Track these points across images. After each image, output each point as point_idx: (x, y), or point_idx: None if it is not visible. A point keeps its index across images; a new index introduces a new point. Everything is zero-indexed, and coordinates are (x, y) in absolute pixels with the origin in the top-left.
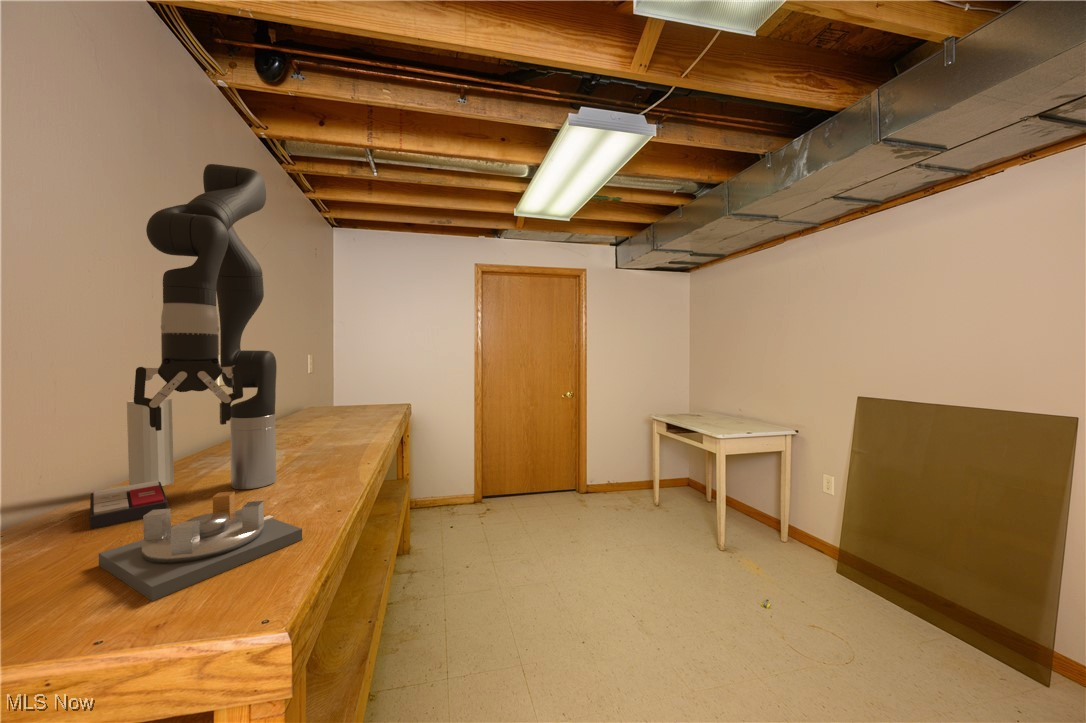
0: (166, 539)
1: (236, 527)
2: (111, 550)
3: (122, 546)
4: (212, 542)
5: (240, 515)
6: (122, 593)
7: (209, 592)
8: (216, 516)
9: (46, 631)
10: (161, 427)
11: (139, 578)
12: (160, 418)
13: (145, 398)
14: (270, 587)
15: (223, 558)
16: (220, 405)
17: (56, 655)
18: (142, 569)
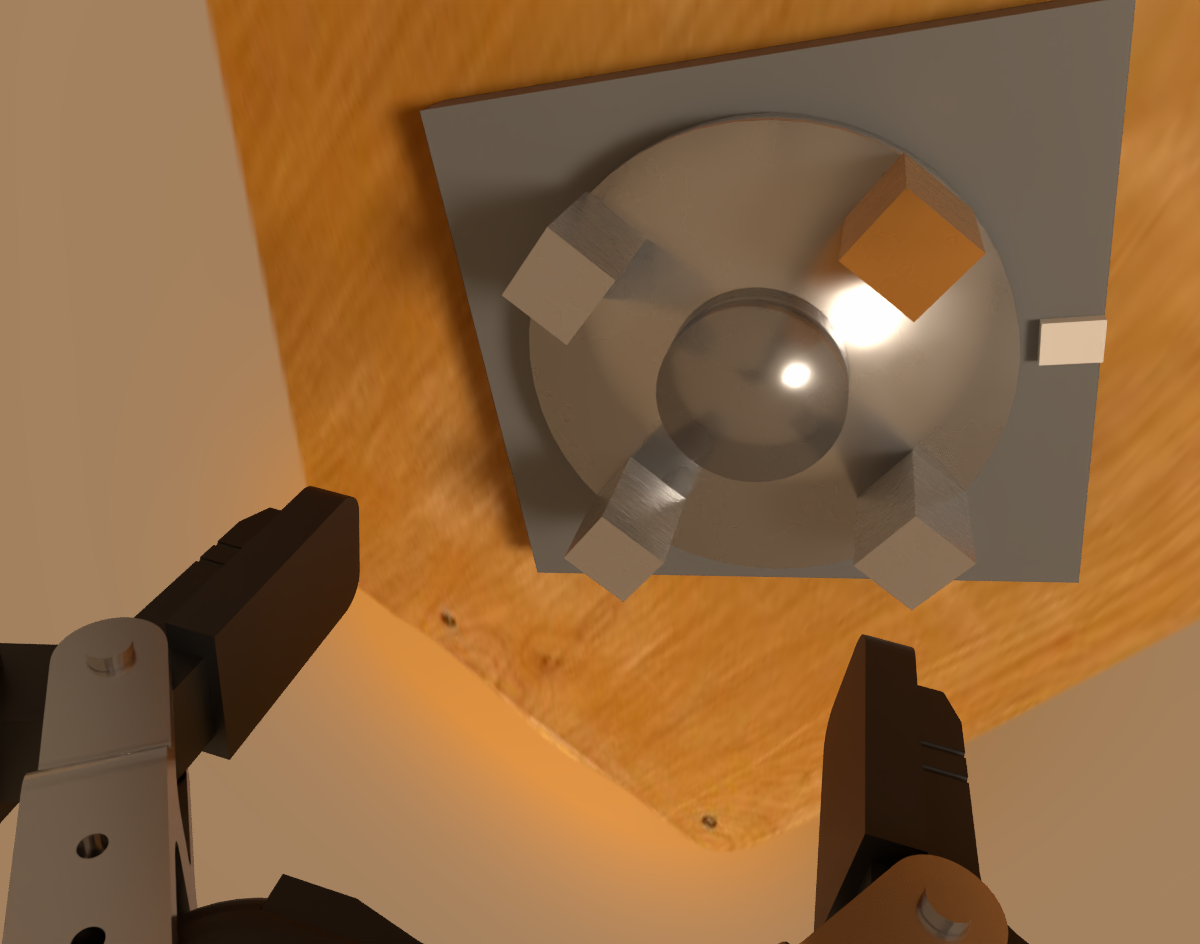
0: (613, 321)
1: (860, 441)
2: (459, 125)
3: (496, 108)
4: (727, 510)
5: (961, 290)
6: (497, 428)
7: (669, 622)
8: (797, 395)
9: (359, 481)
10: (344, 613)
11: (518, 489)
12: (290, 672)
13: (5, 800)
14: (787, 728)
15: (736, 571)
16: (838, 867)
17: (387, 599)
18: (531, 432)
